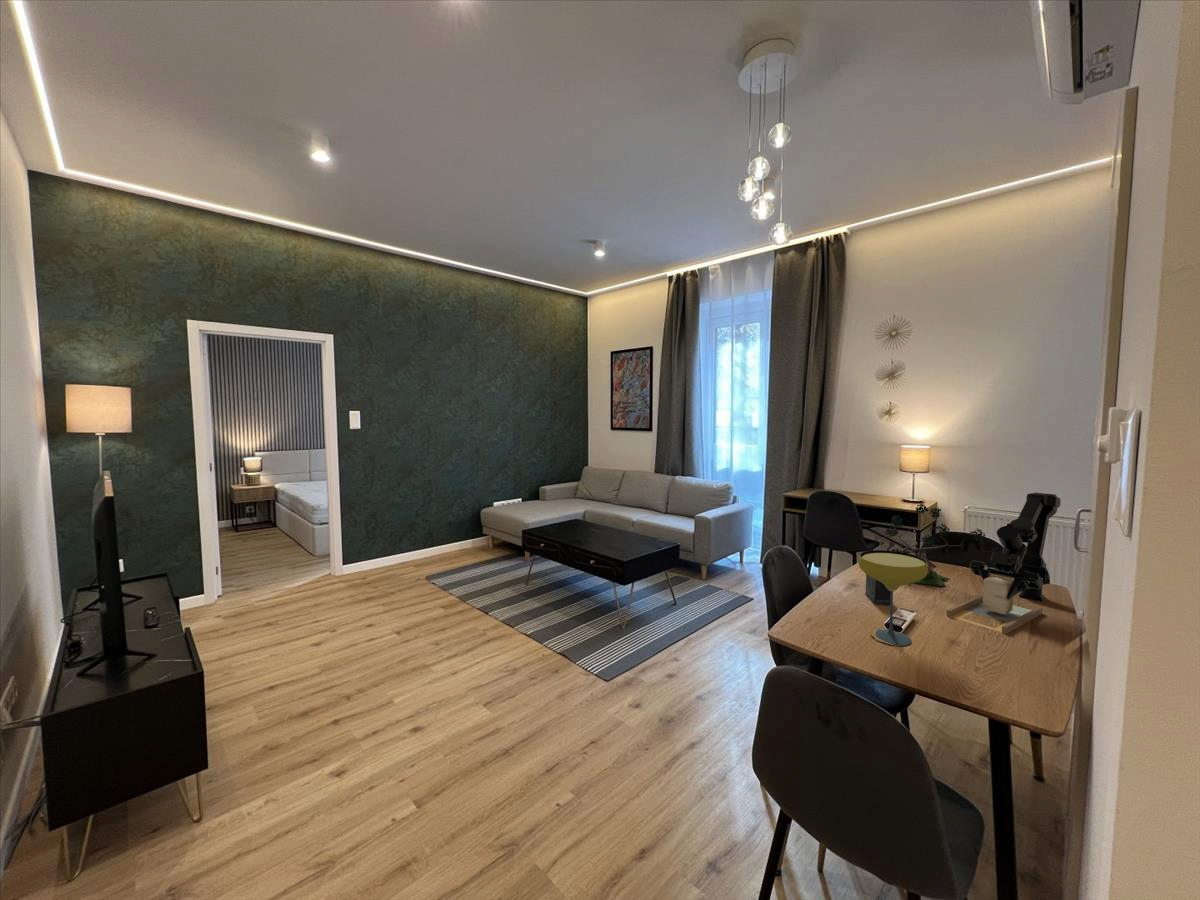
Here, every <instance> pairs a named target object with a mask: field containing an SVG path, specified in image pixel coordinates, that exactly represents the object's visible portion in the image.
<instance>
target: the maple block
mask: <svg viewBox="0 0 1200 900" xmlns="http://www.w3.org/2000/svg"><path fill="white" fill-rule="evenodd" d="M1013 582H1014V579H1013V580H1012V579H1008V578H1003V577H999V576H996V575H995V576H994V575H990V577H988V578H985V579H984V581H983V580H982V583H983V585H982V586H983V589H982V594H983V609H986V610H990V611H993V612H997V613H1000V614H1004V615H1005V614H1007V613H1009V612H1010V611H1012V610H1013V605H1014V596H1013V597H1012V598H1010V599H1007V595H1008V592H1009V590H1010V588H1011V586H1012V584H1013Z"/></svg>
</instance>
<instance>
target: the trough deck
mask: <svg viewBox="0 0 1200 900" xmlns="http://www.w3.org/2000/svg"><path fill="white" fill-rule="evenodd" d="M972 614H977V615H980V616H983V617H987V618H991V619H994V620H997V621H1001V622H1004V623H1002V624H999V626H997V627H993V626H989V625H985V624H983V623H982V624H981V623H980V622H976V621H972V620H969V619H966V617H967V616H969V615H972ZM1040 615H1043V607H1041V606H1037V607H1035V608H1033V609H1028V608H1026V607H1025V608H1024V607H1022V606H1017V605H1014V604H1013V610H1012V611H1010V612H1009V613H1007V614H1005V615H1004V614H1000V613H997V612H993V611H990V610H986V609H983V593H981V594H978V595H977V596H975V597H972V598H970V599H968V600H966V601H964V602H961V603H960V604H959V603H958V604H957V605H955V606H952V607H950V608H948V609H946V617H949V618H952V619H955V620H958V621H961V622H965V623H968V624H971V625H975V626H979V627H980V628H981V627H982V628H984V629H987V630H991V631H994V632H997V633H1001V634H1004V635H1007V634H1008V633H1009V634H1010V632H1012V631H1014V630H1016V629H1018V628H1020V627H1021V626H1023V625H1025V624H1026V623H1028V622H1030V621H1031V620H1033V619H1035V618H1037V617H1038V616H1040Z"/></svg>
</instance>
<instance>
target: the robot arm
mask: <svg viewBox="0 0 1200 900" xmlns="http://www.w3.org/2000/svg"><path fill="white" fill-rule="evenodd" d="M1061 501H1062V500H1061V497H1058V496H1057V494H1056V493H1054V494H1053V493H1044V492H1030V493H1027V494H1026V501H1025V503H1024V505H1023V507H1022V509H1021V511H1020V513H1019V515H1018V517H1017V518H1016V519H1012V520H1011V521H1010V523H1009V522H1008V523H1007V524H1006V525H1005V526H1004V525H1003V526H1001V527H1000V528H997V530H996V535H997V537H998V540H999V542H1000V544H1001V546H1002V547H1003V549H1002V551H1001V552H996V551H992V553H991V556H990V562H993V563H992V566H993V567H991V566H988V564H987V563H986V561H985V562H984V561H980V560H975V559H974V560H971V561H970V562H969V564H968V566H969V568H970V570H971V571H972V574H974V575H976V576H979V577H981V579H982V582H983V581H984V579H985V578H988V577H990V576H992V575H995V576H1002V577H1006V578H1009V579H1013V581H1014V582H1013V584H1012V586H1011V588H1010V590H1009V592H1008V595H1007V599H1010V598H1012V597H1013V598H1014V597H1015V596H1016V595H1017V594H1018V597H1019V598H1024V599H1028V600H1033V601H1038V602H1039V601H1040V602H1043V601H1044V598H1045V595H1044V594H1043V586H1045V585H1050V584H1051V576H1050V571H1049V569H1048V568H1047V564H1046V563H1047V562H1046V561H1045V559H1044V557H1043V553H1044V548H1045V542H1046V536H1047V533H1048V527H1049V522H1050V519H1051V518H1052V517H1053V516H1054V515H1056V514H1057V512H1058V509H1059V508H1060V506H1061Z"/></svg>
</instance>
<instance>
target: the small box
mask: <svg viewBox="0 0 1200 900" xmlns="http://www.w3.org/2000/svg"><path fill="white" fill-rule="evenodd" d="M864 592H865V594H866V595H867V596H866V595H865V596H866V597H867V598H868V599H869V601H870V602H872V603H873V605H875V604H876V605H878V606H879V605H881V606H890V595H891V591H889V590H888V589H887V588H886V586H885V585H884V584H883V583H881V582H880V581H878V580H876V579H874V578H872V577H870V576H869V575H867V574H866V573H865V591H864Z"/></svg>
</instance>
